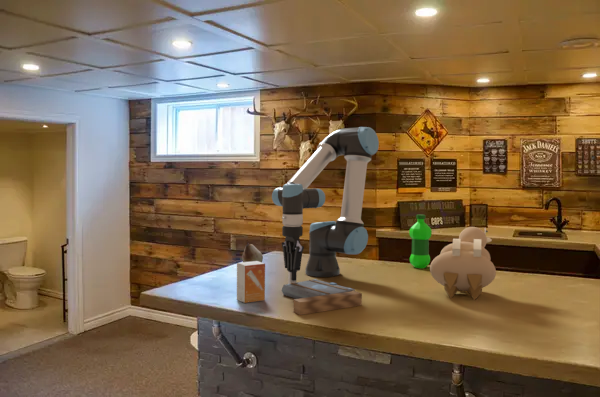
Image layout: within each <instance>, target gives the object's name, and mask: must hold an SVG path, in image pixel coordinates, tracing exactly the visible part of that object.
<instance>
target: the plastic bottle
mask: <svg viewBox="0 0 600 397" xmlns="http://www.w3.org/2000/svg"><path fill="white" fill-rule="evenodd" d="M415 219H416V222H415V223H414V224H413V225H412V226H410V228H409V230H408V231H409V232H408V234H409V235H408V236H409V237H410V238H411V254H410V257H409V263H410V264H411V265H412V266H413V267H414V268H416V269H425V268H426V267H428V266H429V264H431V263H430V262H431V256H430V254H429V251H430V250H429V249H430V248H429V245H430V242H429V240H430V239H431V238H432V228H431V227H430V226H429V225H428V223H426V222H425V220H426V215H425V214H416V215H415Z"/></svg>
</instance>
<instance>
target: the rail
mask: <svg viewBox="0 0 600 397" xmlns="http://www.w3.org/2000/svg"><path fill="white" fill-rule="evenodd" d="M362 298H363V293H361V292H359V291H356V290H355V291H351V292H344V293H336V294H329V295H322V296H315V297H308V298H300V299H295V298H293V313H295V314H297V315H299V316H301V315H308V314H314V313H321V312H322V313H323V312H326V311H327V312H328V311H333V310H339V309H346V308H353V307H358V306H362V305H363V303H362V302H363V299H362Z"/></svg>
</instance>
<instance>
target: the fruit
mask: <svg viewBox="0 0 600 397" xmlns="http://www.w3.org/2000/svg"><path fill="white" fill-rule="evenodd" d="M263 256H264V255H263V254H262V252H261V251H260V250H259V249H258V248H257V247H256V246H255V245H254V244H252V243H249V242H248V241H247V242H246V245H245V247H244V250H243V252H242V262H252V261H259V262H262V263H263V259H264V257H263Z"/></svg>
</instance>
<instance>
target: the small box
mask: <svg viewBox="0 0 600 397" xmlns="http://www.w3.org/2000/svg"><path fill="white" fill-rule="evenodd" d="M265 292H266V263H264V262H263V261H262V262H259V261H252V262H243V261H242V262H237V263H236V300H237V301H239V302H241V303H243V304H246V303H254V302H262V301H265V300H266V296H265V295H266V293H265Z"/></svg>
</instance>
